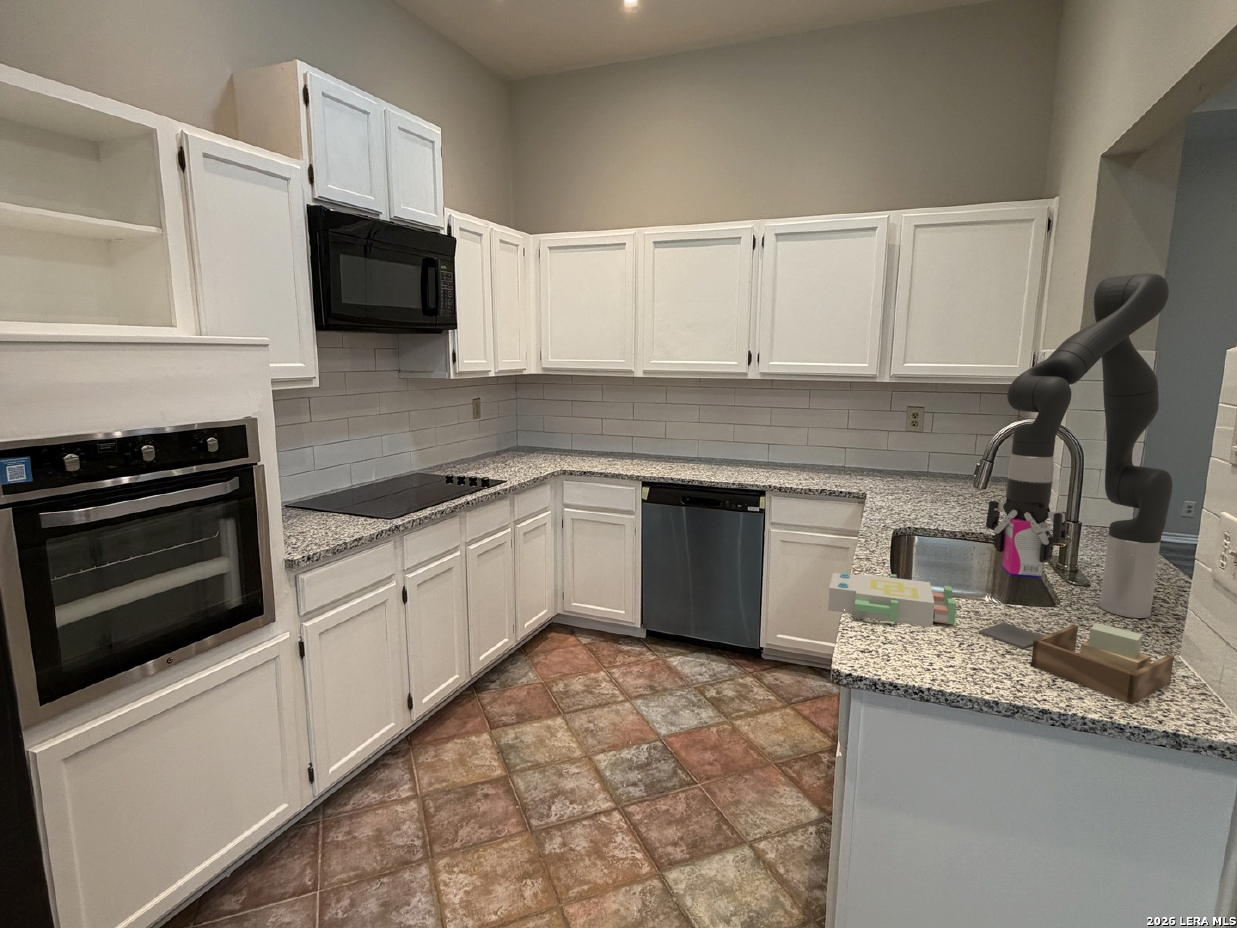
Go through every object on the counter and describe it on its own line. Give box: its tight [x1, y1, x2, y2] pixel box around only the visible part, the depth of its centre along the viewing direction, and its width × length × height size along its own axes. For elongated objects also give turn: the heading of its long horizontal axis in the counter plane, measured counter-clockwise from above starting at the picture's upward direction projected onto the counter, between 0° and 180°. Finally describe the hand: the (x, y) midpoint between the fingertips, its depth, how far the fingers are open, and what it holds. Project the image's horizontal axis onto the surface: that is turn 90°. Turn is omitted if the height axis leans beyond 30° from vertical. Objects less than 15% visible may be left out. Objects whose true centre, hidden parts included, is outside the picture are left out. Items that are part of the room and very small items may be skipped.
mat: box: [978, 621, 1045, 650], centre depth 134 cm, size 9×9×1 cm
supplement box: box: [1001, 518, 1047, 579], centre depth 131 cm, size 6×6×12 cm
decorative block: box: [827, 572, 957, 628], centre depth 148 cm, size 26×6×20 cm
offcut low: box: [1079, 640, 1152, 673], centre depth 120 cm, size 5×9×4 cm, turn 29°
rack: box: [1030, 624, 1175, 705], centre depth 117 cm, size 14×16×5 cm
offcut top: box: [1088, 622, 1143, 659], centre depth 119 cm, size 4×7×4 cm, turn 42°
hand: (1021, 556), depth 131 cm, fingers closed on supplement box, 8 cm apart
